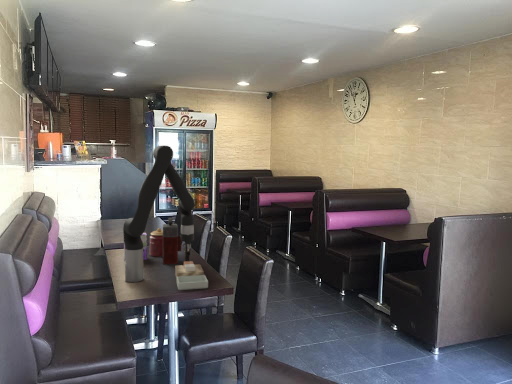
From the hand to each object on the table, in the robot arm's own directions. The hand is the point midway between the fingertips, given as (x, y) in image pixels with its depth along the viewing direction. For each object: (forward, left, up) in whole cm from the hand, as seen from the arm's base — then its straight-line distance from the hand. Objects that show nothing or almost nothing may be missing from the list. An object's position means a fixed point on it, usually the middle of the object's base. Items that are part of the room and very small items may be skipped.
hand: (187, 261), depth 233 cm
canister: (-14, +41, -6) cm, 44 cm away
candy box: (-29, +31, -6) cm, 43 cm away
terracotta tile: (0, -8, -1) cm, 8 cm away
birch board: (0, -11, -6) cm, 12 cm away
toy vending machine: (-7, +21, -6) cm, 23 cm away
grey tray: (0, -25, -6) cm, 25 cm away
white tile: (0, -14, -1) cm, 14 cm away
